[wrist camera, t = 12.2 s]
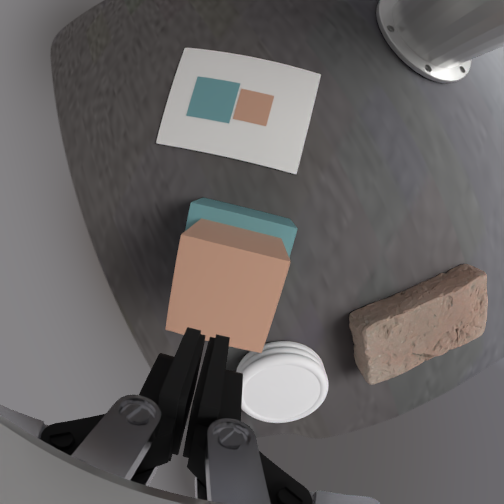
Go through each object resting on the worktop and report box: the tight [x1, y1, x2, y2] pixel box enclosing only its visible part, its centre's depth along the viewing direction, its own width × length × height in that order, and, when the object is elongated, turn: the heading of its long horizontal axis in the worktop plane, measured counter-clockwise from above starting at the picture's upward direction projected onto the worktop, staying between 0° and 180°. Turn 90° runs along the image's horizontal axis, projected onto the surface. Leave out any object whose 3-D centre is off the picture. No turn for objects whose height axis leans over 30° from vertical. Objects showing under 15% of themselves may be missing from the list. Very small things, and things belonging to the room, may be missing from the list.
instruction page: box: [156, 48, 321, 174], centre depth 23 cm, size 10×13×1 cm
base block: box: [185, 198, 297, 257], centre depth 24 cm, size 8×8×5 cm
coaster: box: [236, 341, 328, 423], centre depth 29 cm, size 10×10×4 cm
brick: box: [349, 264, 488, 385], centre depth 26 cm, size 17×8×5 cm, turn 109°
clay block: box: [166, 218, 291, 353], centre depth 19 cm, size 6×6×6 cm
